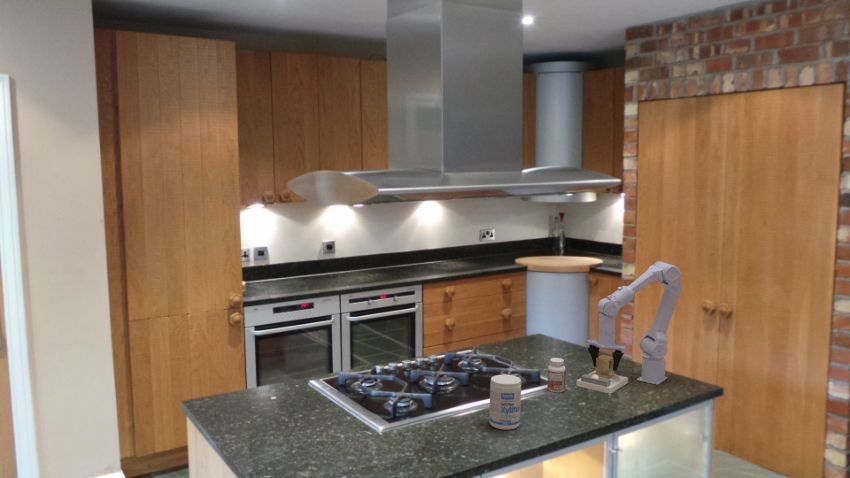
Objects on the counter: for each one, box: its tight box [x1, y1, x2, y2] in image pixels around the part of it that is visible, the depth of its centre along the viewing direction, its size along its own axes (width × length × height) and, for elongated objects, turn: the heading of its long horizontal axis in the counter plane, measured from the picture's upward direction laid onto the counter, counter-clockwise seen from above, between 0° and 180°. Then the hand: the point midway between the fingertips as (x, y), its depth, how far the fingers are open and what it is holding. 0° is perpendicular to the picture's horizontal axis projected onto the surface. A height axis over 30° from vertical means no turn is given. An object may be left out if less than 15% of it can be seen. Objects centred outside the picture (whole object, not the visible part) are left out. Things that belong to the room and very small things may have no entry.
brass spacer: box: [595, 354, 616, 379], centre depth 256 cm, size 5×5×7 cm
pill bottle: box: [547, 357, 567, 393], centre depth 249 cm, size 6×6×11 cm
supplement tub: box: [488, 374, 522, 431], centre depth 218 cm, size 10×10×15 cm
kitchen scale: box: [576, 369, 629, 395], centre depth 255 cm, size 15×13×5 cm
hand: (605, 368), depth 256 cm, fingers open, 7 cm apart
